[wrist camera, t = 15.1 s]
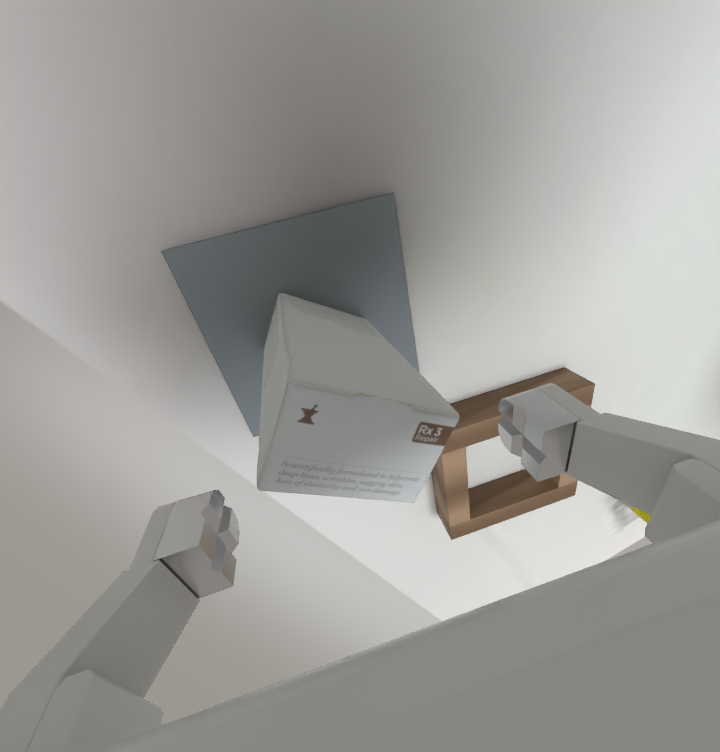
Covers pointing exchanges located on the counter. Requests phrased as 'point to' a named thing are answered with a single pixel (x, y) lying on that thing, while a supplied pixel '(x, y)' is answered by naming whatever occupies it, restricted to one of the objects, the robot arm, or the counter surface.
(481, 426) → the walnut collar
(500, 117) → the counter surface
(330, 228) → the slate mat
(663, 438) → the robot arm
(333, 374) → the skincare box
